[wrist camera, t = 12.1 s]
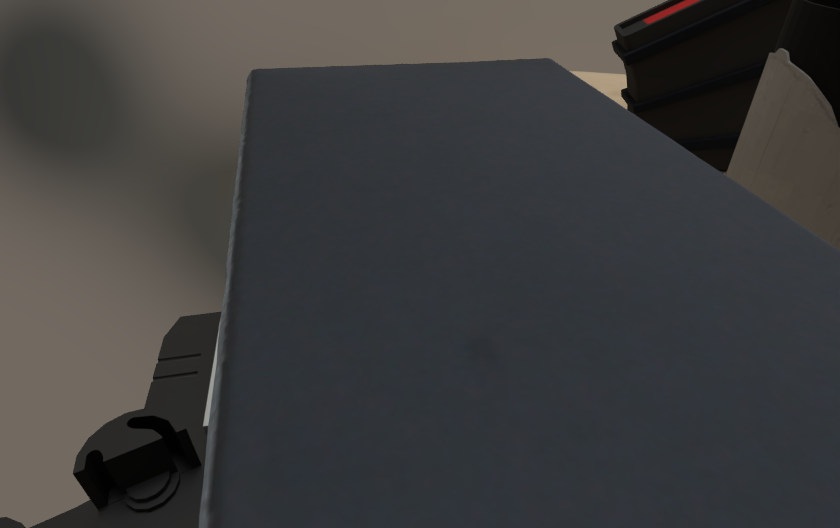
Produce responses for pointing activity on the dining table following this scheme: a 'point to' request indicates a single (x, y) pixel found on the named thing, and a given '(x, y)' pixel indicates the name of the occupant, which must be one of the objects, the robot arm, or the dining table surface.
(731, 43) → the magazine
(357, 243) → the small box
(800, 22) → the glass holder
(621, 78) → the dining table surface
